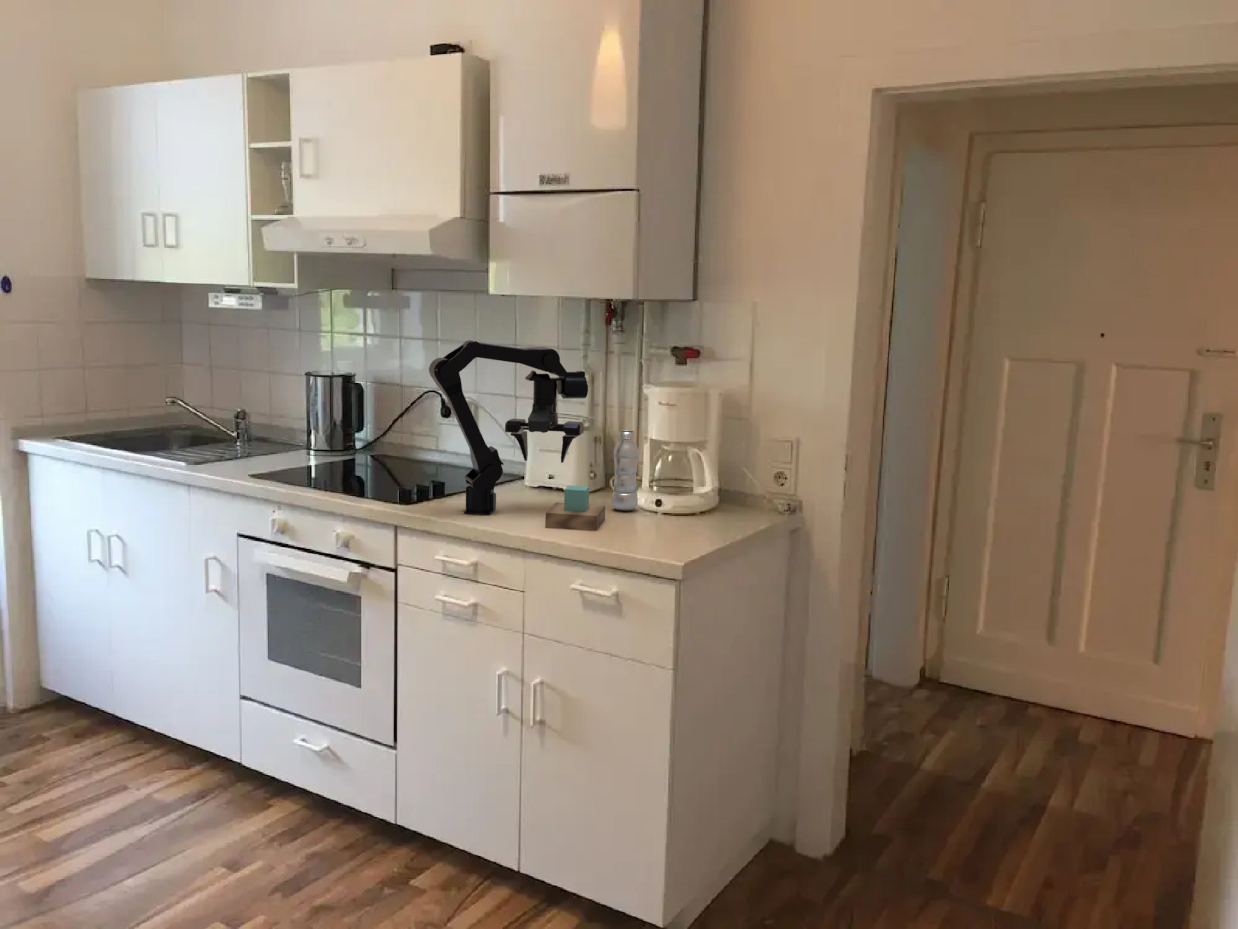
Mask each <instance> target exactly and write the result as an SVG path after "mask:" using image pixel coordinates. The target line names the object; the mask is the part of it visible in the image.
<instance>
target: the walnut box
mask: <svg viewBox="0 0 1238 929" xmlns="http://www.w3.org/2000/svg"><path fill="white" fill-rule="evenodd" d="M544 519H545V521H544V522H545V529H557V530H558V529H559V530H560V529H561V530H576V531H589V532H590V531H591V532H593V531H594V532H597V531H598V530H599V529H600V527H601V526H602V524H603V523H604V522H605V520H606V505H602V504H601V505H600V504H589V508H588V509H587V510H586V511H585V512H582V511H564V502H555V503H554V504H553V505H552V506H551V507H550V508H549V509H548V510H547V511H546V512H545V518H544Z"/></svg>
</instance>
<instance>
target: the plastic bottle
mask: <svg viewBox="0 0 1238 929" xmlns="http://www.w3.org/2000/svg"><path fill="white" fill-rule="evenodd" d="M635 438H636V437H635V431H634V430H626V429H625V430H619V436H618V439H619V441H618V443H616V445H615V447H614V449H613V461H614V462H613V463H614V473H615V474H614V483H613V484H614V485H613V491H612V495H611V505H612V507H613V509H615V510H618V511H622V512H627V511H633V510H635V509H636V508H637V506H638V502H639V497H638V492H637V472H638V465H639V460H640V450H639V447H638V446H637V444H636V443H635Z"/></svg>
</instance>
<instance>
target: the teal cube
mask: <svg viewBox="0 0 1238 929" xmlns="http://www.w3.org/2000/svg"><path fill="white" fill-rule="evenodd" d="M563 493H564V497H563V498H564V500H563V501H564V502H563V503H564V511H582V512H585V511H586V510H587V509H588V508H589V505H590V487H589V486H585V485H584V486H583V485H567V486H566V487H565V488H564V492H563Z"/></svg>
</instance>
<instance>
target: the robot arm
mask: <svg viewBox="0 0 1238 929" xmlns="http://www.w3.org/2000/svg"><path fill="white" fill-rule="evenodd" d="M476 358H479V359H485V360H486V359H487V360H492V361H501V362H508V363H513V364H514V363H515V364H520V365H524V366H526V367H530V368H533V369H536V370H539V371H543V372H546V373H537V372H536V371H535V370H531V371H530V373H528V374H527V375H526V376H525V378H524V379H525V380H526V381H529V382H533V394H532V395H533V399H532V400H533V403H532V407H531V408H532V409H531V412H530V414H529V416H528V418H527V421H526V419H525V418H511V419H508V420H507V421H506V422H505V424H504V432H505V433H510V436H512V437H514V438H515V440H516V441H517V443H518V445H519V447H520V451H521V454H522V457H523V459H524V461H525V462H527V461H528V456H529V455H528V454H529V453H528V431H529V432H530V433H535V432H537V433H539V432H540V433H543V434H546V433H548V432H561V433H562V432H563V433H564V434H563V436H562V444H561V454H560V463H561V464H562V463H564V462H565V459H566V456H567V453H568V451H569V448H570V446H571V444H572V441H573V440H574V439H576V438H577V437H579V436H581V435H582V434H583V433H584V428H585V425H584V424H583V422H582V421H571V420H570V421H566V422H565V423H564V424H563V423H559V418H558V413H557V406H558V400H557V398H558V395H560V396H561V398H562V399H567V400H568V399H569V400H570V399H586V398H587V396H588V394H589V393H588V392H589V385H588V380H587V377H586V371H585V370H584V371H583V370H576V371H567V370H566V368H565V367H564V366H563V364H562V363H561V357H560V354H559V353H558V351H557V350H556V349H553V348H549V347H546V346H538V347H537V346H536V347H535V346H534V347H532V346H531V347H513V346H508V345H501V344H500V345H499V344H492V343H486V342H479V341H477V340H474V339H473V340H472V339H468V340H465V341H464V342H463V344H461V345H460V346H459V347H457V348H455V349H453V350H452V351H450V352H449V353H447V354H446V355H445V356H443V357H438V358H437V357H436V358H435V359H434V360H432V362H431V363H430V365H429V366H428V372H429V375H430V377H431V378H432V380H433V381H434V383H435V384H436V386H437V387H438V388H439V390H440V391H441V392H442V394H443V395H444V396H445V397H446V399H447V402H448V404H449V406H450V408H451V410H452V413H453V415H454V418H455V419H456V423H457V424H458V426H459V428H460V430H461V433H462V435H463V437H464V440H465V441H466V444H467V446H468V449H469V454H470V460H471V464H472V468H471V469H470V471H468V472H467V474H465V475H464V480H465V482H466V485H468V486H466V487H465V510H464V511H463V514H469V515H486V516H489V515H491V514H493V513H494V512H495V511H496V510H497V493H496V492H495V487H496V483H497V482H498V481H499V480H500V479H501V478H502V475H503V473H504V468H503V466H504V462H503V461H502V460H501V458H500V455H499V451H498V449H497V448H495V447H494V446H492V445H490V446H488V445H487V443H486V441H485V439H484V436H483V434H482V432H481V430H480V428H479V425H478V423H477V421H476V419H475V416H474V415H473V412H472V411H471V410H472V409H471V408H470V406H469V403H468V401H467V398H466V397H465V395H464V392H463V385H462V379H461V375H460V372H461V371H463V370H464V369H465V368H466V367H467V366H469V364H471V362H472V361H474V359H476ZM550 374H551V375H555V376H557V377H551V376H550ZM502 465H503V466H502Z"/></svg>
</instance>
